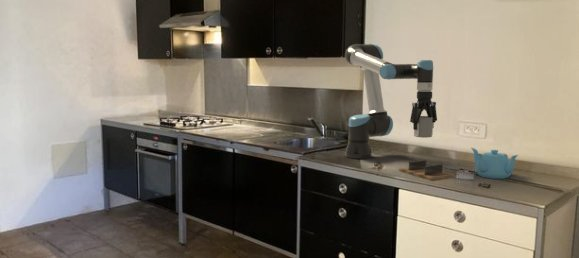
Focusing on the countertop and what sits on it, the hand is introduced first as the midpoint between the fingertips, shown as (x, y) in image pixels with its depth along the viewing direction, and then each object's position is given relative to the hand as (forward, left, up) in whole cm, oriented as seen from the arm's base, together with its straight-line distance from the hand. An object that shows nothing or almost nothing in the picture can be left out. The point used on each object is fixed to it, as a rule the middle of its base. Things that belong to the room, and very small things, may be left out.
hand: (423, 135), depth 249 cm
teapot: (+31, +14, -16) cm, 38 cm away
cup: (0, 0, -1) cm, 1 cm away
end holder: (+14, -11, -16) cm, 24 cm away
